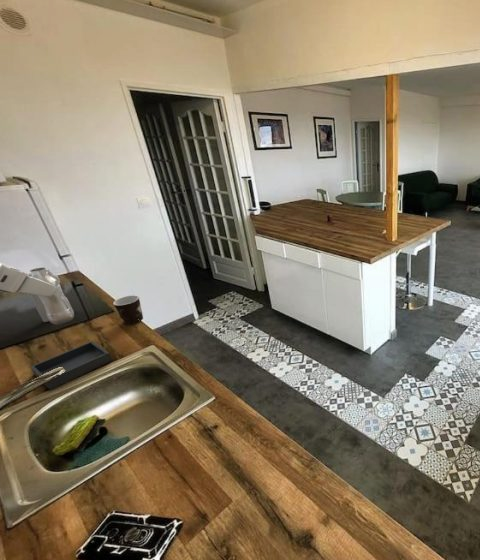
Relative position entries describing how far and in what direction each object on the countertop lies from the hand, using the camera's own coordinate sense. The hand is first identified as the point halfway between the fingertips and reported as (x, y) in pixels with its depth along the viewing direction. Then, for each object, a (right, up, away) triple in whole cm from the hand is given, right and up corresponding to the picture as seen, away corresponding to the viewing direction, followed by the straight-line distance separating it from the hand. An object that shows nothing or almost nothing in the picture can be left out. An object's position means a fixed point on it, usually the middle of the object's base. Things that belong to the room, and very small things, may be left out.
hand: (52, 292), depth 104 cm
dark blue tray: (+4, -26, +3) cm, 27 cm away
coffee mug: (+2, -14, +29) cm, 33 cm away
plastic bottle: (-1, -11, +4) cm, 12 cm away
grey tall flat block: (-32, -12, +32) cm, 47 cm away
